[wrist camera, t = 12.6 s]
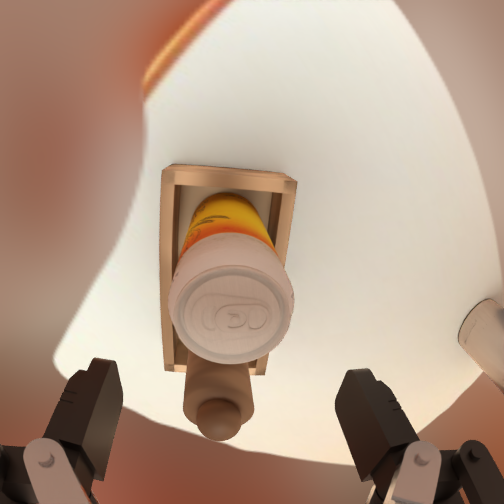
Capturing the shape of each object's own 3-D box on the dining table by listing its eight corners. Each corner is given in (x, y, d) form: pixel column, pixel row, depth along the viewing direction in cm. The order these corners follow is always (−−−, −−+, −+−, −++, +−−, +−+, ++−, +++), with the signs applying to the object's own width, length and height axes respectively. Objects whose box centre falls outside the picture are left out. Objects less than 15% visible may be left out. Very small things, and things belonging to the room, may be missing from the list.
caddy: (284, 173, 27) (361, 224, 12) (258, 345, 34) (283, 468, 19) (172, 163, 25) (109, 204, 11) (170, 340, 32) (150, 465, 17)
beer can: (191, 190, 26) (158, 257, 12) (261, 191, 26) (307, 258, 13) (192, 255, 28) (171, 369, 14) (257, 255, 29) (291, 367, 15)
